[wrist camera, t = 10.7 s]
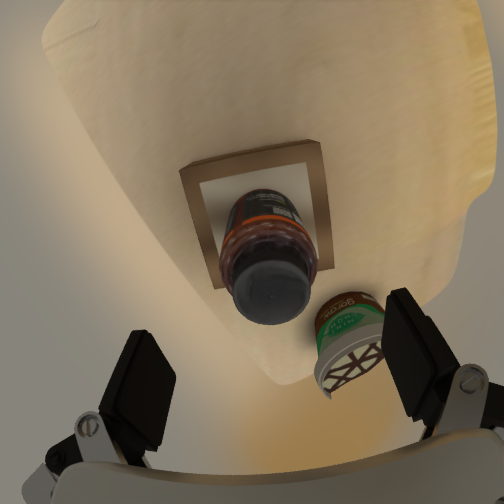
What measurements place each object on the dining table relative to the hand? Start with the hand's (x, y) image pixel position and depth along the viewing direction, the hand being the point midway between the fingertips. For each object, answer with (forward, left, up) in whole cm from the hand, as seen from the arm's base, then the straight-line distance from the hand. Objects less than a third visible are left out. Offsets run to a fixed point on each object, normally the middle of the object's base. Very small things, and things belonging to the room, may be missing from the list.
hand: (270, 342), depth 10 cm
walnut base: (+1, 0, -20) cm, 20 cm away
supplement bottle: (0, 0, -15) cm, 15 cm away
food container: (+16, +7, -21) cm, 27 cm away
